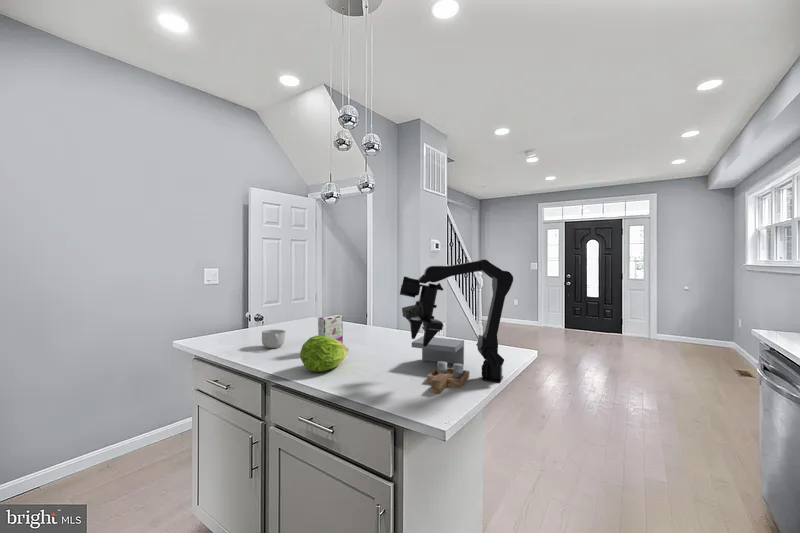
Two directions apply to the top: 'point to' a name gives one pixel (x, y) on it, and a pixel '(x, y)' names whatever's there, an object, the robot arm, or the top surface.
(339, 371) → the top surface
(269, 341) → the teacup
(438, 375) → the walnut tray
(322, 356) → the lettuce
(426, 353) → the grey piece
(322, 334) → the candy bar box
